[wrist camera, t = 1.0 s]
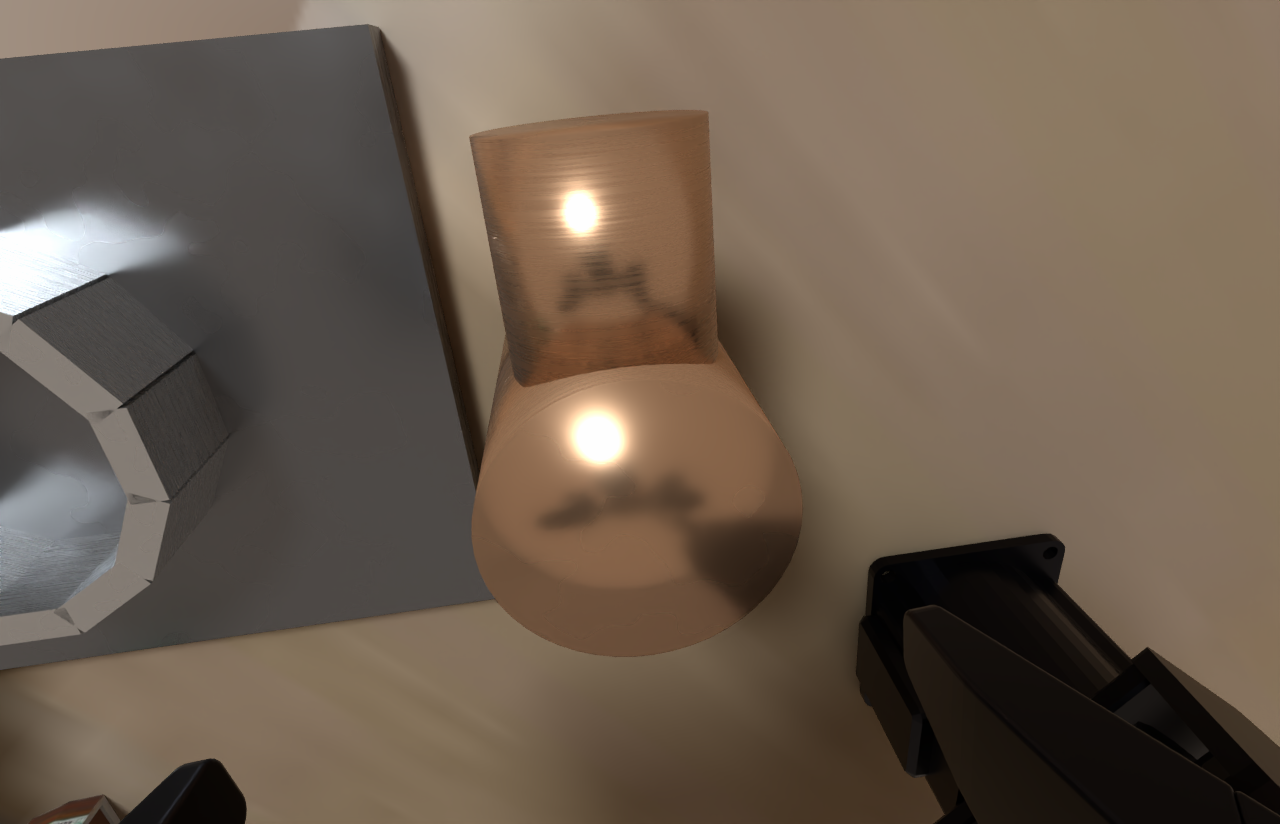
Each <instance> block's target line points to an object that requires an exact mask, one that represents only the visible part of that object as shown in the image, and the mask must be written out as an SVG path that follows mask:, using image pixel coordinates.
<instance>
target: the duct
mask: <svg viewBox="0 0 1280 824" xmlns="http://www.w3.org/2000/svg"><path fill="white" fill-rule="evenodd" d="M478 480H479V469H478V465H477V460H476V456H475V451H474V447H473V443H472V438H471V434H470V429H469V425H468V420H467V416H466V411H465V407H464V403H463V398H462V394H461V389H460V385H459V380H458V376H457V371H456V367H455V363H454V358H453V354H452V349H451V345H450V340H449V336H448V332H447V327H446V323H445V318H444V314H443V309H442V305H441V300H440V296H439V292H438V287H437V283H436V278H435V274H434V269H433V265H432V260H431V256H430V252H429V247H428V243H427V238H426V234H425V229H424V225H423V221H422V216H421V212H420V207H419V203H418V198H417V194H416V189H415V185H414V181H413V176H412V172H411V167H410V163H409V158H408V154H407V149H406V145H405V141H404V136H403V132H402V127H401V123H400V118H399V114H398V109H397V105H396V101H395V96H394V92H393V87H392V83H391V78H390V74H389V70H388V65H387V61H386V56H385V52H384V47H383V43H382V38H381V34H380V30H379V27H376V26H372V25H369V24H366V25H355V26H344V27H334V28H323V29H312V30H302V31H291V32H281V33H270V34H260V35H249V36H238V37H228V38H217V39H206V40H195V41H185V42H174V43H163V44H153V45H142V46H132V47H121V48H111V49H99V50H89V51H78V52H67V53H57V54H47V55H36V56H25V57H14V58H5V59H0V670H3V669H10V668H17V667H24V666H31V665H38V664H45V663H52V662H58V661H65V660H72V659H79V658H86V657H93V656H100V655H107V654H114V653H121V652H128V651H135V650H142V649H149V648H156V647H163V646H170V645H177V644H184V643H191V642H198V641H204V640H211V639H218V638H225V637H232V636H239V635H246V634H253V633H260V632H267V631H274V630H281V629H288V628H295V627H302V626H309V625H316V624H323V623H330V622H337V621H344V620H350V619H357V618H364V617H371V616H378V615H385V614H392V613H399V612H406V611H413V610H420V609H427V608H434V607H441V606H448V605H455V604H462V603H469V602H476V601H483V600H490V599H495V598H494V596H493V595H492V594H491V592H490V591H489V589H488V588H487V586H486V584H485V582H484V580H483V578H482V576H481V574H480V572H479V569H478V566H477V563H476V560H475V557H474V551H473V545H472V538H471V520H472V513H473V507H474V501H475V496H476V491H477V485H478Z"/></svg>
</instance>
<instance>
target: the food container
mask: <svg viewBox="0 0 1280 824" xmlns="http://www.w3.org/2000/svg"><path fill="white" fill-rule="evenodd" d="M120 822H121V821H120V819H119V818H118V816H117V815H116V813H115V811H114V810H113V808H112V807H111V805H110V804H109V802H108V801H107V799H106V798H105V796H104V795H99V796H94V797H89V798H85V799H80V800H75V801H70V802H68V803H66V804H63V805H61V806H59V807H57V808H55V809H52V810H50V811H48V812H46V813H44V814H41V815H39V816H37V817H35V818H33V819H32V820H31V821H30V822H29V823H28V824H119V823H120Z"/></svg>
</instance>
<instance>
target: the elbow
mask: <svg viewBox="0 0 1280 824" xmlns="http://www.w3.org/2000/svg"><path fill="white" fill-rule="evenodd" d="M469 138H470V144H471V149H472V155H473V160H474V165H475V171H476V176H477V181H478V187H479V192H480V198H481V203H482V208H483V214H484V219H485V225H486V230H487V235H488V241H489V246H490V251H491V257H492V262H493V268H494V273H495V278H496V284H497V289H498V295H499V300H500V305H501V311H502V316H503V321H504V327H505V332H506V335H505V340H504V346H503V351H502V356H501V362H500V367H499V373H498V378H497V383H496V389H495V394H494V399H493V405H492V410H491V415H490V421H489V426H488V432H487V437H486V442H485V448H484V453H483V458H482V464H481V469H480V474H479V480H478V485H477V491H476V496H475V501H474V507H473V513H472V520H471V538H472V545H473V551H474V557H475V560H476V563H477V566H478V569H479V572H480V574H481V576H482V578H483V580H484V582H485V584H486V586H487V588H488V589H489V591H490V592H491V594H492V595H493V596H494V598H495V599H496V601H497V602H498V603H499V604H500V605H501V606H502V608H503V609H504V610H505V611H506V612H507V613H508V614H509V615H510V616H511V617H512V618H514V619H515V620H516V621H517V622H519V623H520V624H521V625H523V626H524V627H525V628H527V629H528V630H530V631H532V632H533V633H535V634H537V635H538V636H540V637H542V638H544V639H546V640H548V641H550V642H553V643H555V644H557V645H560V646H563V647H566V648H569V649H572V650H575V651H580V652H584V653H589V654H594V655H603V656H613V657H636V656H645V655H655V654H660V653H665V652H670V651H674V650H677V649H681V648H684V647H687V646H691V645H693V644H696V643H698V642H701V641H703V640H706V639H708V638H710V637H712V636H714V635H716V634H718V633H720V632H721V631H723V630H725V629H727V628H729V627H730V626H732V625H733V624H734V623H736V622H737V621H739V620H740V619H742V618H743V617H744V616H746V615H747V614H748V613H749V612H750V611H752V610H753V609H754V608H755V607H756V606H757V605H758V604H759V603H760V602H761V601H762V600H763V599H764V598H765V597H766V596H767V595H768V594H769V593H770V592H771V590H772V589H773V588H774V586H775V585H776V584H777V582H778V581H779V580H780V578H781V577H782V575H783V573H784V571H785V570H786V568H787V566H788V564H789V563H790V561H791V558H792V556H793V553H794V551H795V548H796V546H797V542H798V538H799V534H800V530H801V523H802V513H803V505H802V491H801V487H800V482H799V478H798V474H797V471H796V469H795V466H794V464H793V461H792V459H791V457H790V455H789V453H788V452H787V450H786V448H785V446H784V445H783V443H782V441H781V440H780V438H779V437H778V435H777V433H776V432H775V430H774V428H773V427H772V425H771V424H770V422H769V420H768V419H767V417H766V416H765V414H764V412H763V411H762V409H761V407H760V406H759V404H758V403H757V401H756V399H755V398H754V396H753V394H752V393H751V391H750V390H749V388H748V386H747V385H746V383H745V382H744V380H743V378H742V377H741V375H740V373H739V372H738V370H737V369H736V367H735V365H734V364H733V362H732V361H731V359H730V357H729V356H728V354H727V352H726V351H725V349H724V348H723V346H722V344H721V343H720V341H719V339H718V335H717V311H716V287H715V263H714V239H713V215H712V191H711V167H710V143H709V119H708V112H707V111H701V110H668V111H648V112H633V113H620V114H609V115H598V116H588V117H578V118H569V119H560V120H552V121H544V122H537V123H529V124H522V125H516V126H510V127H504V128H498V129H493V130H488V131H483V132H479V133H476V134H473V135H471V136H470V137H469Z"/></svg>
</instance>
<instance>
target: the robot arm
mask: <svg viewBox="0 0 1280 824" xmlns="http://www.w3.org/2000/svg"><path fill="white" fill-rule="evenodd" d="M1047 548H1048V549H1047ZM1046 549H1047V550H1046ZM1064 552H1065V546H1064V544H1063V543H1062V542H1061V541H1060V540H1059V539H1058V538H1057V537H1056V536H1054V535H1052V534H1039V535H1032V536H1025V537H1018V538H1011V539H1005V540H998V541H991V542H984V543H977V544H970V545H963V546H956V547H949V548H943V549H936V550H929V551H922V552H915V553H908V554H901V555H894V556H887V557H883V558H879V559H877V560H876V561H874V562H873V564H872V565H871V566H870V569H869V574H868V588H867V602H866V615H865V616H863V618H862V620H861V622H860V623H859V637H858V651H857V666H856V675H857V677H858V679H859V681H860V693H861V695H862V697H863V699H864V701H865V703H866V704H867V705H869V706H872V707H873V709H874V711H875V713H876V715H877V717H878V719H879V721H880V723H881V725H882V727H883V729H884V731H885V733H886V735H887V737H888V739H889V741H890V743H891V745H892V747H893V749H894V751H895V753H896V755H897V757H898V759H899V761H900V763H901V765H902V767H903V769H904V771H905V772H907V773H908V774H909V775H910V776H912V777H914V778H917V777H923V776H925V778H926V780H927V782H928V784H929V785H930V787H931V789H932V791H933V793H934V795H935V797H936V799H937V801H938V802H939V804H940V806H941V808H942V810H943V812H944V814H945V815H944V816H942V817H941V818H940V819H939V820H937V821H936V822H935V823H934V824H1280V747H1279V746H1278V745H1277V744H1275V743H1274V742H1273V741H1272V740H1271V739H1270V738H1269V737H1268V736H1266V735H1265V734H1264V733H1263V732H1262V731H1261V730H1260V729H1259V728H1258V727H1256V726H1255V725H1254V724H1253V723H1252V722H1251V721H1250V720H1249V719H1247V718H1246V717H1245V716H1244V715H1243V714H1242V713H1241V712H1239V711H1238V710H1237V709H1236V708H1234V707H1233V706H1231V705H1230V704H1229V703H1227V702H1226V701H1224V700H1223V699H1221V698H1220V697H1219V696H1217V695H1216V694H1214V693H1213V692H1211V691H1210V690H1209V689H1207V688H1206V687H1204V686H1203V685H1201V684H1200V683H1199V682H1197V681H1196V680H1194V679H1193V678H1192V677H1190V676H1189V675H1187V674H1186V673H1184V672H1183V671H1182V670H1180V669H1179V668H1177V667H1176V666H1174V665H1173V664H1172V663H1170V662H1169V661H1167V660H1166V659H1164V658H1163V657H1162V656H1160V655H1159V654H1157V653H1156V652H1154V651H1153V650H1152V649H1150V648H1149V647H1147V648H1145V649H1144V650H1143V651H1142V652H1140V653H1139V654H1138V655H1137V656H1135V657H1134V658H1133V659H1131V658H1130V657H1129V656H1128V655H1127V654H1126V653H1125V652H1124V651H1123V650H1122V649H1121V648H1120V647H1119V646H1118V645H1117V644H1116V643H1115V642H1114V641H1113V640H1112V639H1111V638H1110V637H1109V636H1108V635H1107V634H1106V633H1105V632H1104V631H1103V630H1102V629H1101V628H1100V627H1099V626H1098V625H1097V624H1096V623H1095V622H1094V621H1093V620H1092V619H1091V618H1090V617H1089V616H1088V615H1087V614H1086V613H1085V612H1084V611H1083V610H1082V609H1081V608H1080V607H1079V606H1078V605H1077V604H1076V603H1075V602H1074V600H1073V599H1072V598H1071V597H1070V596H1069V595H1068V594H1067V593H1066V592H1065V591H1064V590H1063V589H1062V588H1061V587H1060V586H1059V585H1058V584H1057V583H1058V579H1059V574H1060V570H1061V565H1062V561H1063V557H1064ZM887 571H889V572H888V573H887V574H885V575H882V574H884V573H885V572H887ZM246 812H247V808H246V801H245V798H244V796H243V794H242V792H241V791H240V789H239V788H238V786H237V785H236V784H235V782H234V781H233V779H232V778H231V776H230V775H229V773H228V772H227V770H226V769H225V767H224V766H223V764H222V763H221V762H220V761H218V760H216V759H206V760H201V761H196V762H192V763H187V764H184V765H182V766H180V767H178V768H177V769H176V770H175V771H173V772H172V773H171V774H170V775H169V776H168V777H167V778H166V779H165V780H164V781H163V782H162V783H161V784H160V785H159V786H158V787H156V788H155V789H154V790H153V791H152V792H151V793H150V794H149V795H148V796H147V797H146V798H145V799H144V800H143V801H142V802H141V803H140V804H139V805H137V806H136V807H135V808H134V809H133V810H132V811H131V812H130V813H129V814H128V815H127V816H126V817H125V818H124V819H123V820H122V821H121V822H120V823H119V824H245V821H246Z"/></svg>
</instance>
